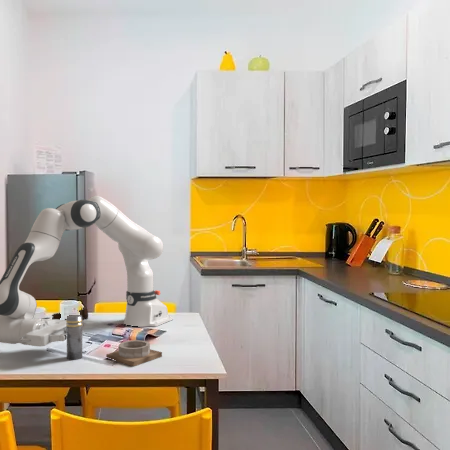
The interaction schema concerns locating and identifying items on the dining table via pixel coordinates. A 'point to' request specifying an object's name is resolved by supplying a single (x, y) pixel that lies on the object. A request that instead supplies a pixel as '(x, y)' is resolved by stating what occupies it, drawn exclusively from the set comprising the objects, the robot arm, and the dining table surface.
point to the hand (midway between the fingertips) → (72, 334)
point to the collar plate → (134, 360)
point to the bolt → (82, 312)
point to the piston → (74, 337)
